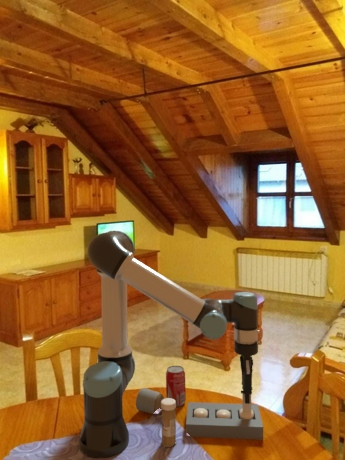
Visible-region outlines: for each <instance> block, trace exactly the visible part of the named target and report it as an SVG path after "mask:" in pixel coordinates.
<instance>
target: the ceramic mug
mask: <svg viewBox="0 0 345 460" xmlns="http://www.w3.org/2000/svg"><path fill="white" fill-rule="evenodd" d="M163 399H165V397H164V395H163V394H162V393H161V392H159V391H155V390H152V389H148V388H146V387H142V388H141V389H140V390H139V391H138V393H137V396H136V399H135V408H136V410H137V411H140V412H143V413H148V414H151V415H154V414H153V413H154V412H155V411H156V410H157V409H159V408H160V409H161V401H162V400H163Z"/></svg>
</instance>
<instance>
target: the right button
mask: <svg viewBox="0 0 345 460" xmlns="http://www.w3.org/2000/svg"><path fill="white" fill-rule="evenodd" d="M239 419H254V412H253V410H251V412H243V408H242V409H240V411H239Z"/></svg>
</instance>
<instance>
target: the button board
mask: <svg viewBox="0 0 345 460" xmlns="http://www.w3.org/2000/svg"><path fill="white" fill-rule="evenodd" d="M198 408H203V409H206V410H207V411H208V418H200V417H194V410H195V409H198ZM242 408H243V403H226V402H225V403H220V402H219V403H218V402H192V401H191V402H189V401H188V404H187V411H186V420H185V434H186V433H188V434H189V435H190V436H191V437H193V438H212V439H214V438H215V439H237V440H238V439H239V440H241V439H242V440H264V425H263V420H262V416H261V412H260V408H259V404H257V403H255V404H253V403H251V410H253V412H254V419H239V411H240V409H242ZM218 410H228V411H229V412H230V413H231V419H228V418H217V415H216V413H217V411H218ZM191 437H190V438H191Z"/></svg>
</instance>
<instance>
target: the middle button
mask: <svg viewBox="0 0 345 460" xmlns="http://www.w3.org/2000/svg"><path fill="white" fill-rule="evenodd" d="M216 415H217V418H228V419H231V413H230V412H229V411H228V410H218V411H217V413H216Z"/></svg>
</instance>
